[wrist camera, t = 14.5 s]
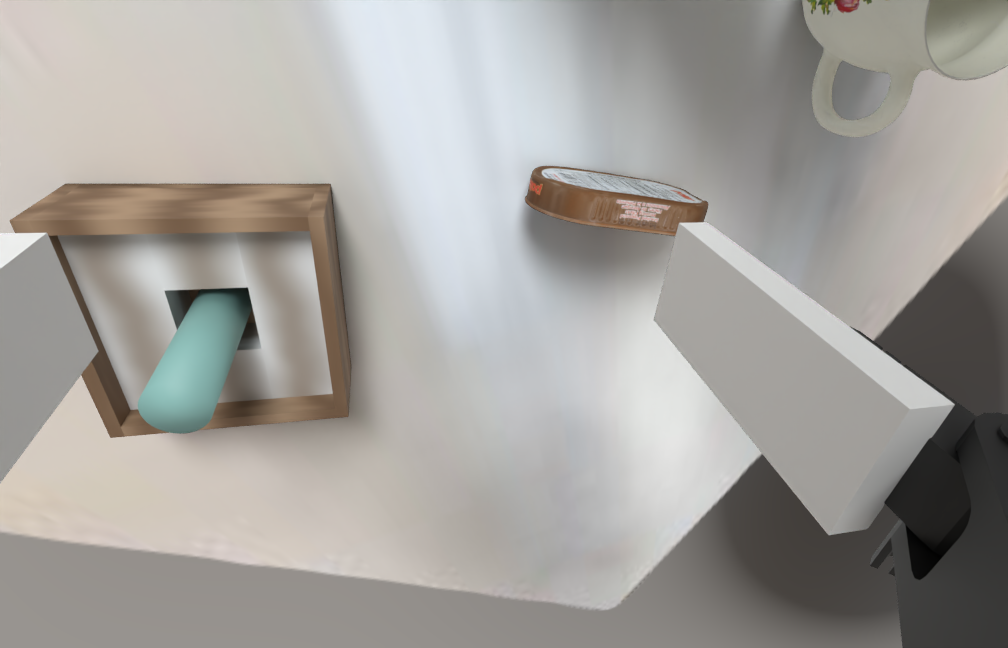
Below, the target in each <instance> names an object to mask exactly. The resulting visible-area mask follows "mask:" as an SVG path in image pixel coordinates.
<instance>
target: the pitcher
mask: <svg viewBox="0 0 1008 648" xmlns="http://www.w3.org/2000/svg"><path fill="white" fill-rule="evenodd" d="M802 6H803V12H804V17H805V21H806V24H807V26H808V28H809V30H810V32H811V33H812V35H813V37H814V38H815V39H816V40H817V41H818V42H819V43H820V44H821V45H822V46H823V55H822V57H821V59H820V62H819V65H818V68H817V71H816V74H815V78H814V82H813V87H812V107H813V112H814V116H815V118H816V120H817V122H818V123H819V124H820V125H821V126H822V127H823V128H825V129H827V130H828V131H830V132H832V133H835V134H838V135H842V136H846V137H864V136H868V135H871V134H874V133H877V132H879V131H880V130H882V129H884V128H886V127H887V126H888V125H890V124H891V123H892V122H893V121H894V120H895V119H896V118H897V117H898V116H899V115H900V114H901V112H902V111H903V109H904V108H905V106H906V104H907V102H908V100H909V98H910V95H911V92H912V87H913V83H914V80H915V78H916V76H917V75H918V74H919V73H920V71H924V70H928V69H930V70H933V71H935V72H936V73H938V74H940V75H942V76H944V77H948V78H952V79H956V80H973V79H978V78H982V77H985V76H988V75H990V74H993V73H995V72H997V71H999V70H1001V69H1003V68H1005V67H1006V66H1008V0H802ZM842 61H845V62H847V63H849V64H851V65H853V66H856V67H859V68H862V69H866V70H870V71H875V72H882V73H889V74H890V79H891V82H890V87H889V90H888V93H887V96H886V98H885V100H884V101H883V103H882V104H881V106H880V107H879V108H878V109H877V110H876V111H875V112H874V113H873V114H871V115H869V116H868V117H865V118H862V119H857V120H846V119H843V118H842V117H840V116H839V115H838V114H837V113H836V112H835V110H834V108H833V103H832V86H833V81H834V77H835V74H836V71H837V69H838V66H839V64H840V62H842Z"/></svg>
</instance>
